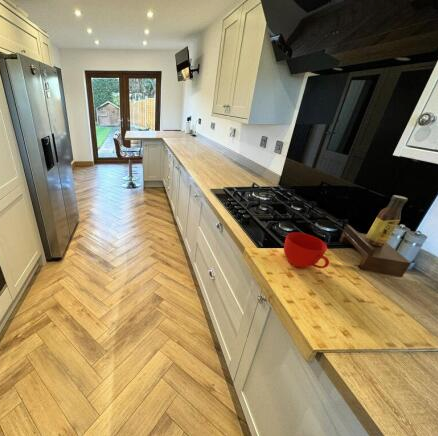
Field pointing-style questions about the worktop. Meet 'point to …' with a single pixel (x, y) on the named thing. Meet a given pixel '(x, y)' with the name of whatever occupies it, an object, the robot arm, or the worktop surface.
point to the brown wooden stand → (375, 255)
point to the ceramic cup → (304, 250)
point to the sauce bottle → (386, 222)
